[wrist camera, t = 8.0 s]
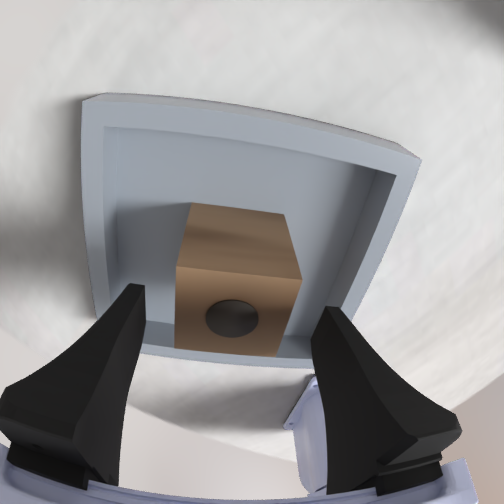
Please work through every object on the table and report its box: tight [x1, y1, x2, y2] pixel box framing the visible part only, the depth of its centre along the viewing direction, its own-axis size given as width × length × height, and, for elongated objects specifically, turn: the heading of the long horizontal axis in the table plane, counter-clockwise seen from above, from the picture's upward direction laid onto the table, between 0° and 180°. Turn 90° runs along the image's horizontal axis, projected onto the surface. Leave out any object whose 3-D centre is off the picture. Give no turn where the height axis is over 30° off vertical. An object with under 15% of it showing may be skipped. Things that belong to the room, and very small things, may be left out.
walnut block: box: [174, 202, 303, 357], centre depth 14 cm, size 4×4×5 cm
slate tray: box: [81, 93, 422, 369], centre depth 16 cm, size 14×14×2 cm
